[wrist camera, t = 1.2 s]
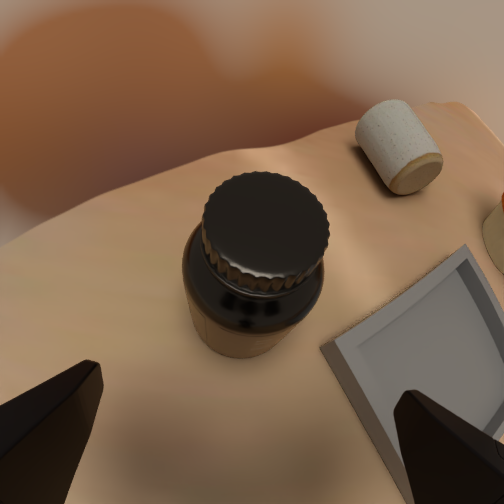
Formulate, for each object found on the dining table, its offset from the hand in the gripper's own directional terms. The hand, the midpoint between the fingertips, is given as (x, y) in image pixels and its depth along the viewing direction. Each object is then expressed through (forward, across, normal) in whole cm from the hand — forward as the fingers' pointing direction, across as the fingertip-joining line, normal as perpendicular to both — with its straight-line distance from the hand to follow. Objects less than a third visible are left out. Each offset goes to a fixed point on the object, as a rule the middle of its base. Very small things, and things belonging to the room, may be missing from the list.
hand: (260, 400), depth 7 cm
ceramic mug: (+27, -16, -8) cm, 32 cm away
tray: (+10, -18, +8) cm, 22 cm away
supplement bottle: (+13, 0, +5) cm, 14 cm away
